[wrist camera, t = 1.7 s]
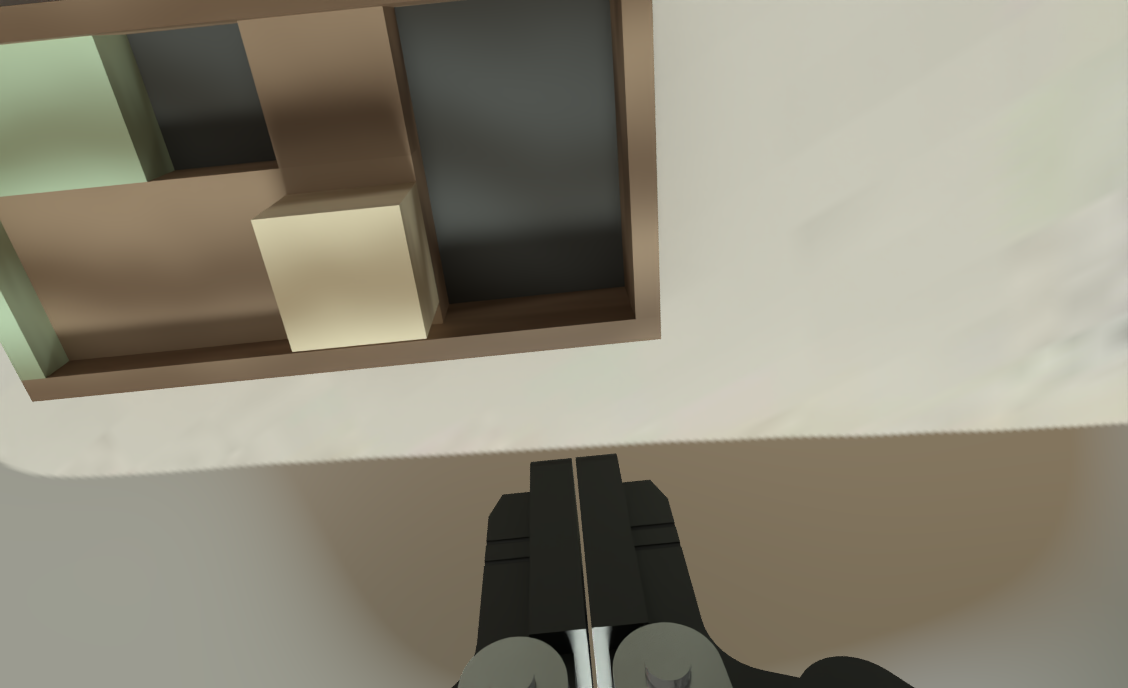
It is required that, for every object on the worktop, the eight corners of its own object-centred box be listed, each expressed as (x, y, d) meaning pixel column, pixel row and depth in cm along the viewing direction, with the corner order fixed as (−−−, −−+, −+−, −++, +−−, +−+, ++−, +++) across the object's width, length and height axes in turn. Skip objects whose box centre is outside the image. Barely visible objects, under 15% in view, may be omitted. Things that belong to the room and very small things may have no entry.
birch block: (286, 194, 25) (250, 219, 22) (416, 181, 25) (399, 205, 22) (319, 313, 27) (292, 351, 24) (439, 301, 27) (426, 338, 24)
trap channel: (-66, 23, 24) (-171, 23, 20) (633, -48, 24) (650, -60, 20) (91, 356, 30) (32, 401, 27) (645, 301, 30) (661, 338, 27)
